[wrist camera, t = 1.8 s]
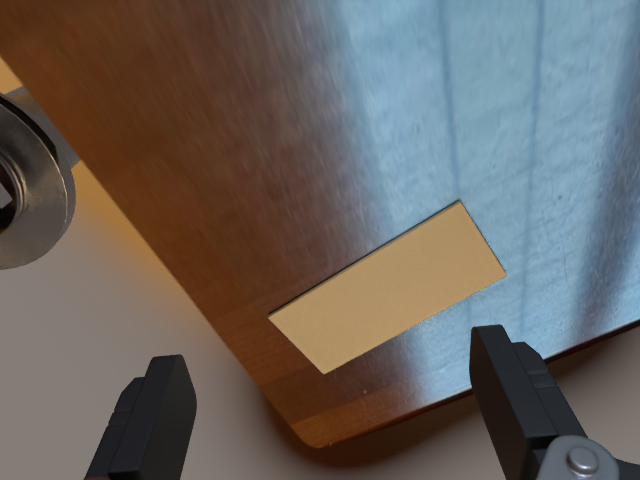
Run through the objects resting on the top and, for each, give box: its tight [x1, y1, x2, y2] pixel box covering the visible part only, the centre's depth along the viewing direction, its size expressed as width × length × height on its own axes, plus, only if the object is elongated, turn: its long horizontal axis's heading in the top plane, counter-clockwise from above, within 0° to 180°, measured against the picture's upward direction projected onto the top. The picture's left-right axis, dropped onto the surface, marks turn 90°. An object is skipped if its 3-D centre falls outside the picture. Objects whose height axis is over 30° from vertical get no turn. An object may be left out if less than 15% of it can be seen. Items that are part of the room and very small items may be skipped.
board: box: [268, 200, 507, 374], centre depth 45 cm, size 20×9×1 cm, turn 125°
